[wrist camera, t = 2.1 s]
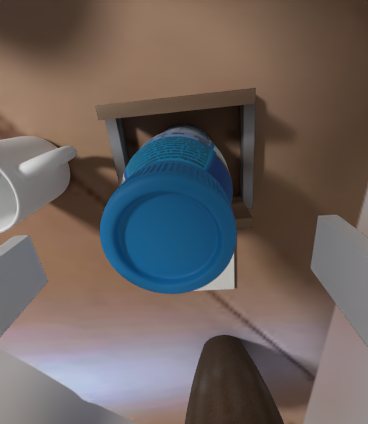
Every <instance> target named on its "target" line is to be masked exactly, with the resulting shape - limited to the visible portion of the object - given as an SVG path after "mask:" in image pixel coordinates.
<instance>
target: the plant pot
mask: <svg viewBox="0 0 368 424" xmlns="http://www.w3.org/2000/svg"><path fill="white" fill-rule="evenodd" d="M185 424H284V422H283V420H282V417H281V415H280V413H279V411H278V409H277V406H276V404H275V402H274V400H273V398H272V396H271V394H270V392H269V390H268V388H267V386H266V384H265V382H264V380H263V378H262V376H261V374H260V372H259V371H258V369H257V367H256V365H255V364H254V362H253V360H252V359H251V357H250V355H249V354H248V352H247V351H246V349H245V348H244V346H243V345H242V343H241V342H240V341H239V340H238V339H236V338H234V337H231V336H225V335H223V336H216V337H213V338H211V339H209V340H208V341H207V342H206V343H205V345H204V347H203V350H202V353H201V356H200V359H199V362H198V365H197V369H196V372H195V376H194V380H193V384H192V388H191V393H190V398H189V403H188V408H187V413H186V420H185Z"/></svg>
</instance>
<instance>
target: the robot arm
mask: <svg viewBox="0 0 368 424" xmlns="http://www.w3.org/2000/svg"><path fill="white" fill-rule="evenodd" d="M310 269H311V270H312V271H313V273H314V274H315V275H316V277H317V278H318V280H319V281H320V282H321V284H322V285H323V286H324V288H325V289H326V291H327V292H328V293H329V295H330V296H331V298H332V299H333V300H334V302H335V303H336V304H337V306H338V307H339V309H340V310H341V311H342V313H343V314H344V315H345V317H346V318H347V319H348V321H349V322H350V324H351V325H352V326H353V328H354V329H355V330H356V332H357V333H358V335H359V336H360V337H361V339H362V340H363V341H364V343H365V344H366V346H367V347H368V237H367V236H365V235H364V234H363V233H361V232H360V231H359V230H357V229H356V228H355V227H353V226H352V225H350V224H349V223H348V222H346V221H345V220H344V219H342V218H341V217H340V216H338V215H322V216H318V220H317V227H316V234H315V241H314V248H313V254H312V261H311V268H310ZM47 282H48V280H47V277H46V275H45V272H44V270H43V268H42V265H41V263H40V260H39V258H38V256H37V253H36V251H35V248H34V246H33V244H32V241H31V239H30V236H29V235H23V236H13V237H12V238H10V239H9V240H7V241H6V242H5V243H3V244H2V245H0V337H1V336H2V335H3V333H4V332H5V331H6V330H7V329H8V328H9V326H10V325H11V324H12V323H13V322H14V321H15V319H16V318H17V317H18V316H19V315H20V314H21V312H22V311H23V310H24V309H25V308H26V307H27V306H28V304H29V303H30V302H31V301H32V300H33V299H34V297H35V296H36V295H37V294H38V293H39V292H40V290H41V289H42V288H43V287H44V286H45V285H46V283H47Z"/></svg>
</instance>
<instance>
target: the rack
mask: <svg viewBox="0 0 368 424" xmlns="http://www.w3.org/2000/svg"><path fill="white" fill-rule="evenodd" d="M255 89H256V88H251V89H242V90H233V91H224V92H215V93H206V94H197V95H188V96H179V97H170V98H161V99H152V100H143V101H134V102H125V103H116V104H107V105H98V106H95V108H96V112H97V116H98V120H105V122H106V126H107V131H108V135H109V140H110V144H111V149H112V154H113V158H114V163H115V167H116V172H117V176H118V181H119V185H121V184H122V178H123V174H124V171H125V169H126V167H127V165H128V163H129V158H128V153H127V147H126V142H125V137H124V132H123V127H122V122H121V118H124V117H134V116H143V115H153V114H162V113H171V112H181V111H190V110H200V109H209V108H218V107H228V106H237V105H240V195H236V196H233V197H232V203H231V208H232V211H233V214H234V217H235V221H236V228H237V229H245V228H252V217H251V215H250V213H249V211H248V209H253V175H254V136H255V96H256V90H255Z"/></svg>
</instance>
